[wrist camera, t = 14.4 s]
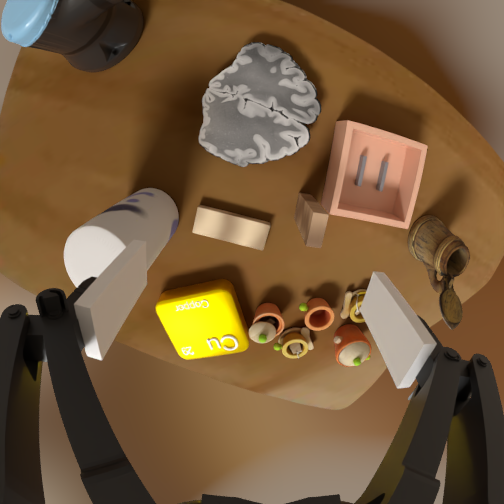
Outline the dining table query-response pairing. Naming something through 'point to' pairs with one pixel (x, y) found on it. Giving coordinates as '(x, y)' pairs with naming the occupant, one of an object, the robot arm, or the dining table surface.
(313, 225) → the tall beige block
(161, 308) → the element tile
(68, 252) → the container
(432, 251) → the wooden mug
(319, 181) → the dining table surface
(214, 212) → the beige wooden plank
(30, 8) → the robot arm
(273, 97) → the brain slice
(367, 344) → the toy tea set
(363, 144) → the pink open box
